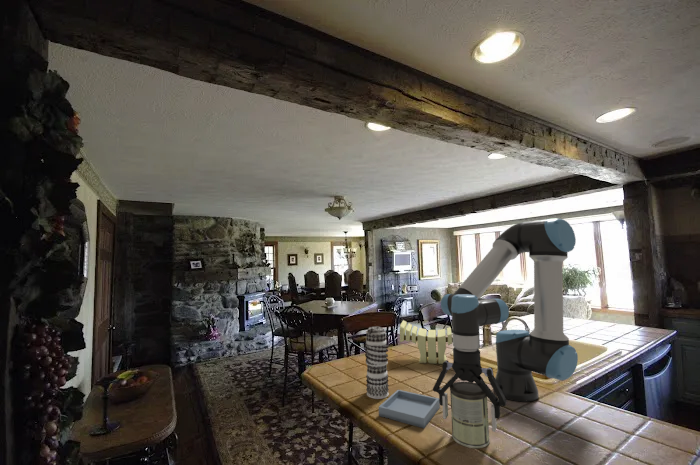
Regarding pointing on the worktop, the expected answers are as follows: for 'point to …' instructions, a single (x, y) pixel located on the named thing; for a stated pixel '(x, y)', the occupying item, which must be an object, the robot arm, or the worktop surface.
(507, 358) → the robot arm
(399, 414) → the tray
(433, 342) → the slatted curved stool
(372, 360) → the decorative candle
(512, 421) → the worktop surface
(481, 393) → the coffee can
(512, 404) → the worktop surface
